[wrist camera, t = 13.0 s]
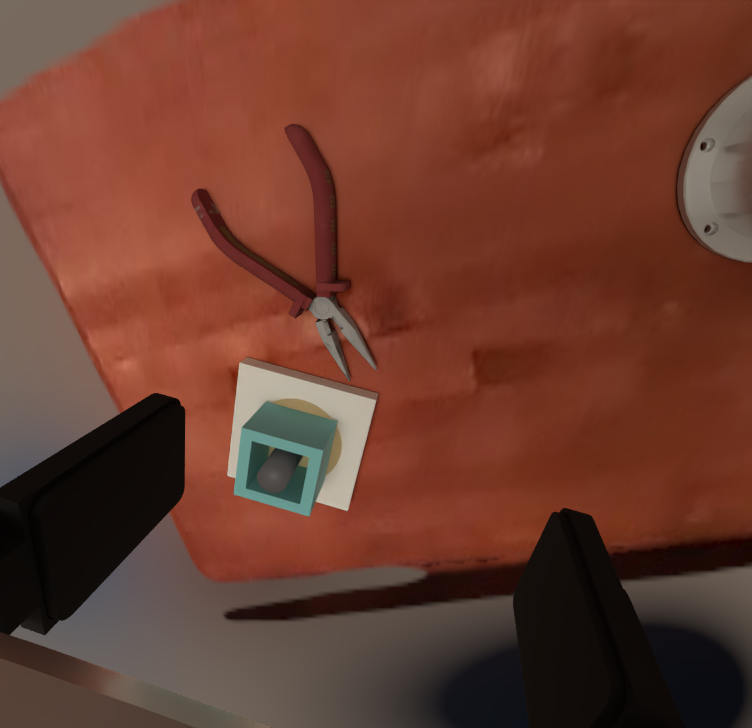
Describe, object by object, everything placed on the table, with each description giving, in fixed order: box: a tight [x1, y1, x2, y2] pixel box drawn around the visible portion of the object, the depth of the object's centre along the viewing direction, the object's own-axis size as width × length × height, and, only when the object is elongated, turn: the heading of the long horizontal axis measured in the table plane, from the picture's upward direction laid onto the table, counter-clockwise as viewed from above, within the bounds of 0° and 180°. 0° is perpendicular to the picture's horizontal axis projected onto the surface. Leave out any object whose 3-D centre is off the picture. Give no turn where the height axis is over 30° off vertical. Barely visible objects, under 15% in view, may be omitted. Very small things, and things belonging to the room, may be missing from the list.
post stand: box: [227, 357, 378, 511], centre depth 37 cm, size 13×13×8 cm
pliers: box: [191, 124, 377, 381], centre depth 34 cm, size 12×20×3 cm, turn 28°
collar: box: [234, 401, 338, 516], centre depth 37 cm, size 7×7×5 cm
